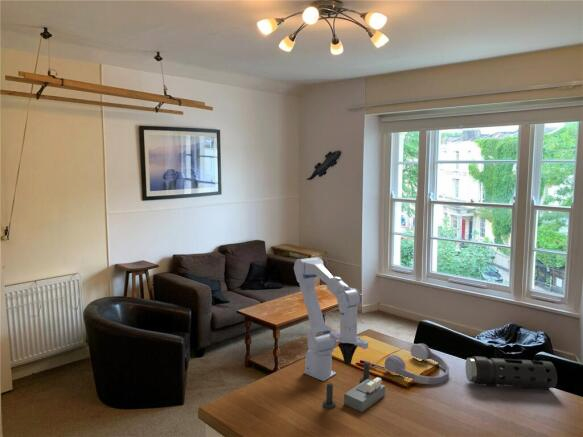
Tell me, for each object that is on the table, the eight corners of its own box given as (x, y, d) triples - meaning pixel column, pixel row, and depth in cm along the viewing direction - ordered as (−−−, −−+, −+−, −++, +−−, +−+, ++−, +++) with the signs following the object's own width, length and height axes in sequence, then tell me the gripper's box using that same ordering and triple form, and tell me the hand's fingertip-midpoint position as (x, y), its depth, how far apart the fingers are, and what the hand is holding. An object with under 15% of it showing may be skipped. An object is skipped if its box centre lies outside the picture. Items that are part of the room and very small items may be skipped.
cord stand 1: (320, 405, 141) (321, 385, 140) (328, 400, 144) (328, 380, 143) (330, 410, 139) (331, 389, 138) (337, 405, 142) (338, 384, 141)
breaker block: (344, 403, 142) (344, 385, 142) (367, 388, 153) (367, 371, 152) (362, 412, 138) (362, 393, 137) (384, 395, 148) (385, 377, 147)
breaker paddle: (366, 391, 143) (366, 384, 142) (370, 387, 145) (371, 380, 145) (370, 392, 142) (370, 385, 141) (375, 389, 144) (375, 382, 144)
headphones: (381, 370, 166) (427, 394, 151) (382, 353, 165) (430, 376, 150) (414, 355, 181) (459, 375, 166) (416, 339, 180) (461, 358, 165)
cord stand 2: (358, 381, 157) (358, 363, 157) (364, 377, 160) (365, 359, 160) (367, 385, 155) (368, 366, 154) (373, 381, 158) (374, 362, 157)
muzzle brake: (556, 396, 149) (558, 367, 148) (471, 391, 152) (473, 362, 151) (543, 383, 159) (545, 356, 157) (463, 378, 162) (465, 351, 160)
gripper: (324, 322, 149) (323, 360, 150) (360, 333, 139) (359, 373, 141) (336, 317, 154) (335, 354, 156) (371, 327, 145) (370, 366, 146)
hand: (347, 363), depth 149 cm, fingers closed
